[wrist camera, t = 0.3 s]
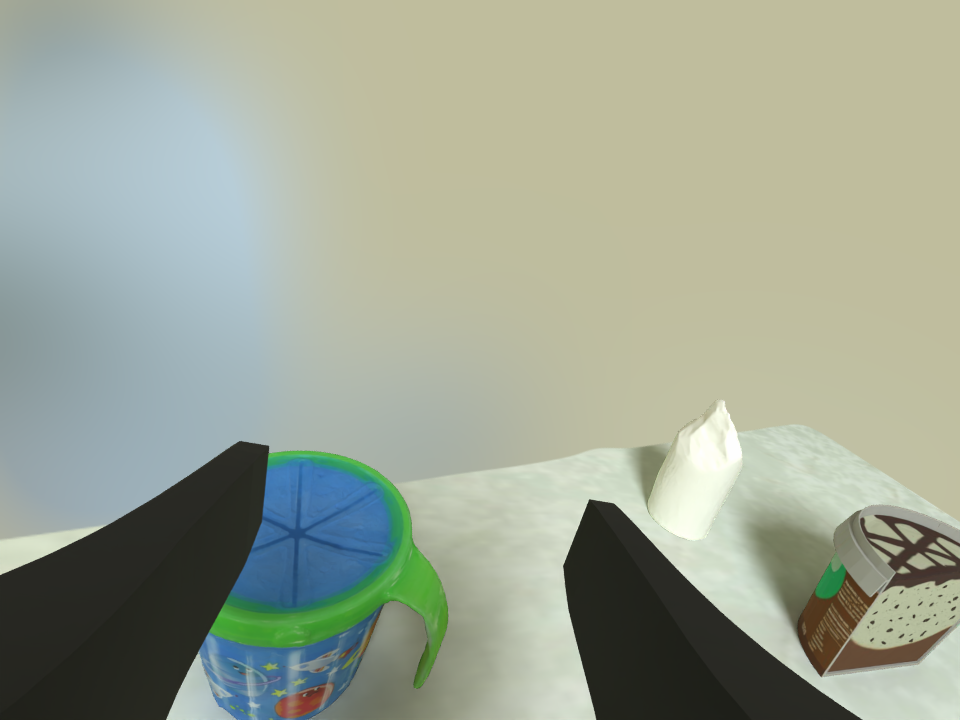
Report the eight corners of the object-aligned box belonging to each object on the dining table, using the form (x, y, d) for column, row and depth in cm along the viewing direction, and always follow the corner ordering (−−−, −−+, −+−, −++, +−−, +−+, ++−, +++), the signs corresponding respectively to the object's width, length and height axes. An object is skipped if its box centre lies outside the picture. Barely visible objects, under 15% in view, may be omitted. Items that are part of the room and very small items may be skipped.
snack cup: (79, 675, 25) (51, 518, 21) (241, 537, 35) (245, 408, 30) (355, 855, 22) (390, 711, 17) (454, 647, 31) (494, 519, 27)
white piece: (786, 428, 40) (723, 421, 38) (720, 542, 45) (663, 540, 44) (739, 387, 45) (682, 380, 44) (685, 494, 50) (633, 491, 49)
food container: (861, 591, 43) (932, 499, 39) (932, 662, 38) (1023, 565, 34) (742, 598, 40) (807, 498, 35) (804, 679, 34) (888, 572, 30)
